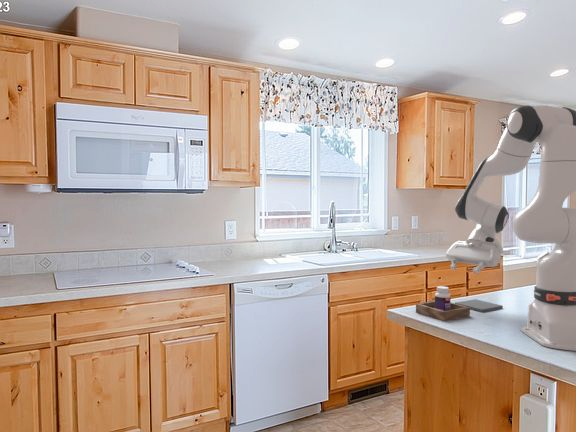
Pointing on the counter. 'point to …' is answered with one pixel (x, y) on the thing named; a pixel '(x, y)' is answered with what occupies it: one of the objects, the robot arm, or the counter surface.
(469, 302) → the rubber mat
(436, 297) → the pill bottle
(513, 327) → the counter surface
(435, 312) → the wooden tray
